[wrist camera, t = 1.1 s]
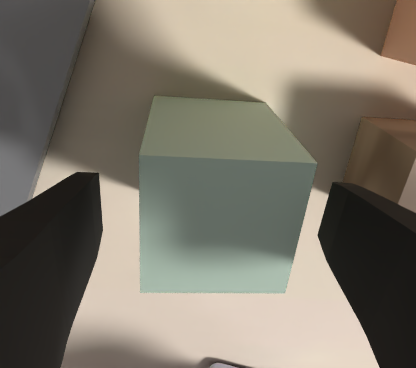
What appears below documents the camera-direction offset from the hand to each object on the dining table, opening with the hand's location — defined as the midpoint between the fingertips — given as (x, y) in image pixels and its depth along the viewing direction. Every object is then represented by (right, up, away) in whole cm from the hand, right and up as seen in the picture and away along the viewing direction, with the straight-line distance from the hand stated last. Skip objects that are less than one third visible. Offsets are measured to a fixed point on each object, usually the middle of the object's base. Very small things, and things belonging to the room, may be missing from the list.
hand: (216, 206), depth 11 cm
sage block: (0, +2, +4) cm, 5 cm away
